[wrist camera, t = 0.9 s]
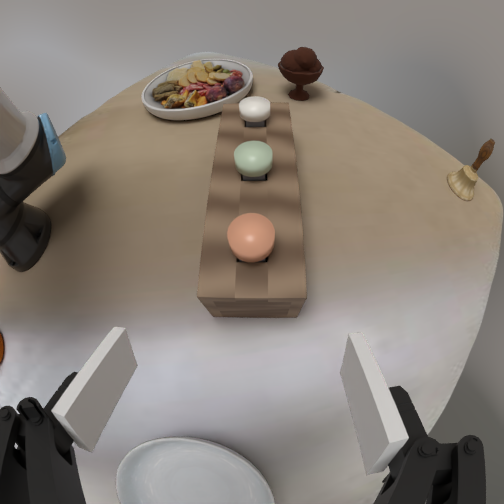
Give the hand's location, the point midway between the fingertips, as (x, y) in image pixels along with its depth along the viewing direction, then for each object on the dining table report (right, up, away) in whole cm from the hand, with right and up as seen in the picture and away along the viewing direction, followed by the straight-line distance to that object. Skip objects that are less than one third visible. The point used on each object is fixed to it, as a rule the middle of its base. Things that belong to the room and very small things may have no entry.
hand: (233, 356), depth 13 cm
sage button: (+1, +15, +26) cm, 31 cm away
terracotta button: (+1, +5, +21) cm, 22 cm away
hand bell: (+49, +20, +35) cm, 64 cm away
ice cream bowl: (+13, +46, +49) cm, 68 cm away
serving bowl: (-6, -29, +14) cm, 33 cm away
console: (+2, +12, +33) cm, 35 cm away
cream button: (+2, +26, +32) cm, 41 cm away
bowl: (-14, +48, +52) cm, 72 cm away
